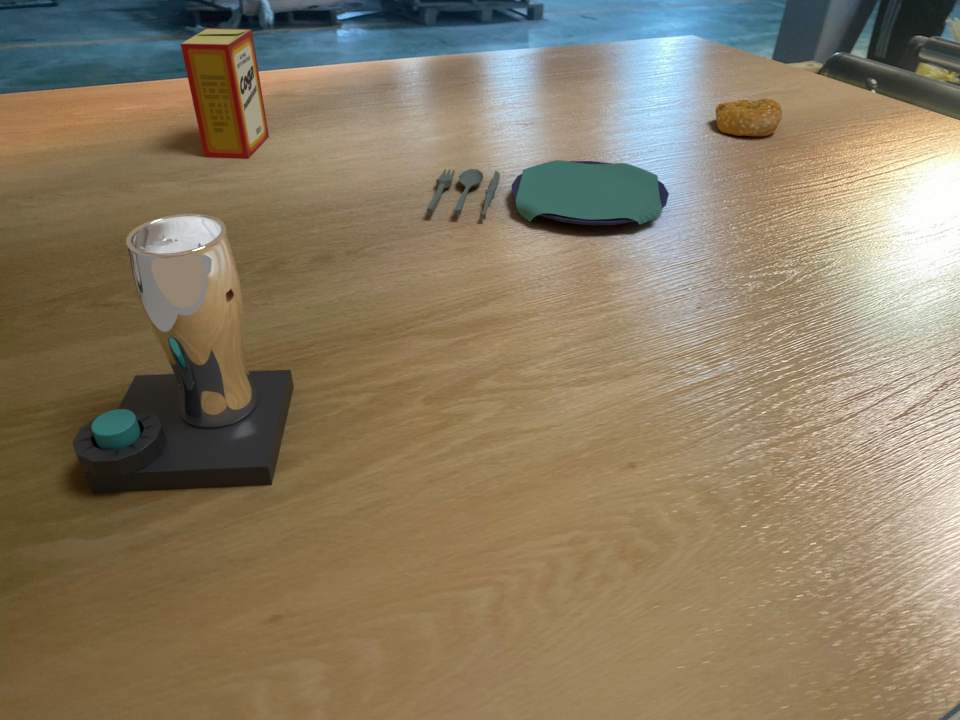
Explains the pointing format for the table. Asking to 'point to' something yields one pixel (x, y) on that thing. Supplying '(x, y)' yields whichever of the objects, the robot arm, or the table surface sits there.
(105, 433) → the button
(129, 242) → the beer glass
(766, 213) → the table surface
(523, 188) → the cutlery set
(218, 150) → the baking soda box
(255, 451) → the black flat square block
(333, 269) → the table surface
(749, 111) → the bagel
